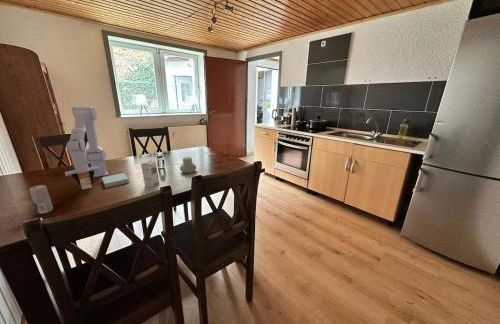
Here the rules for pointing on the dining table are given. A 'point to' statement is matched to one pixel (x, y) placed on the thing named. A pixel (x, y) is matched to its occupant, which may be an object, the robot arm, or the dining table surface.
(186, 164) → the air freshener
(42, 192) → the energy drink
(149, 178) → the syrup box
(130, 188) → the dining table surface
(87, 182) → the birch cube
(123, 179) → the grey-blue block
